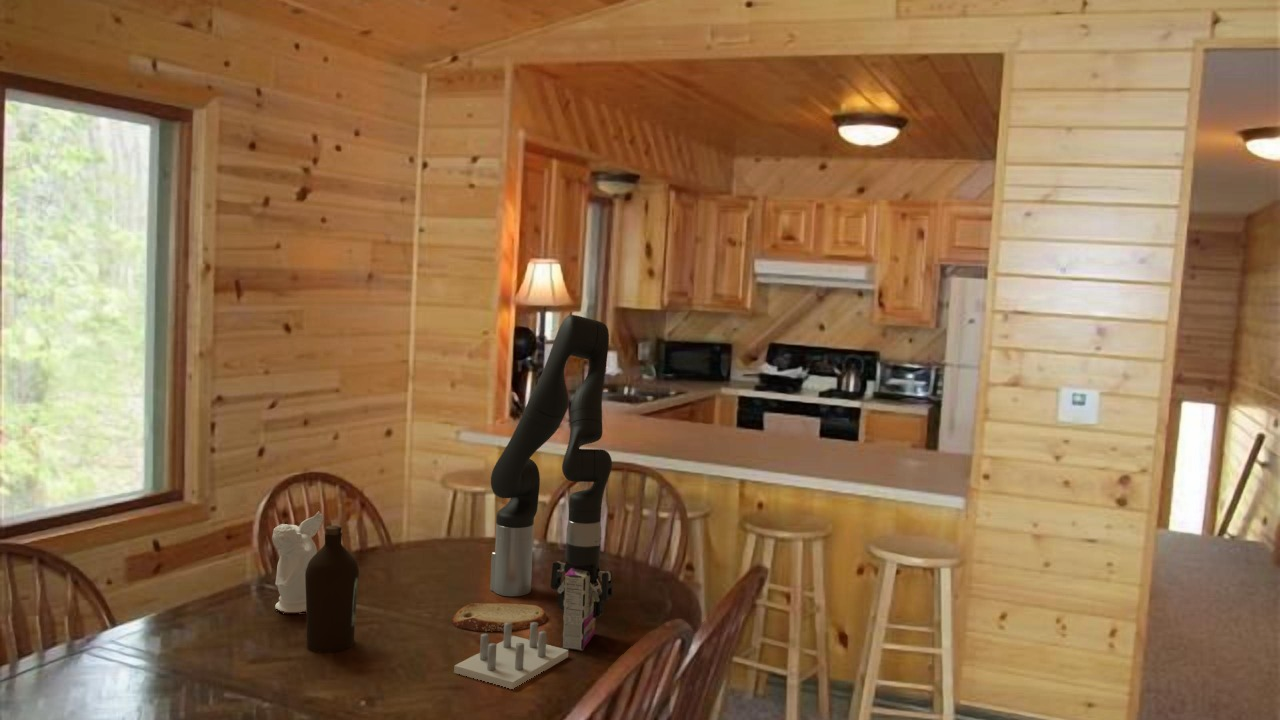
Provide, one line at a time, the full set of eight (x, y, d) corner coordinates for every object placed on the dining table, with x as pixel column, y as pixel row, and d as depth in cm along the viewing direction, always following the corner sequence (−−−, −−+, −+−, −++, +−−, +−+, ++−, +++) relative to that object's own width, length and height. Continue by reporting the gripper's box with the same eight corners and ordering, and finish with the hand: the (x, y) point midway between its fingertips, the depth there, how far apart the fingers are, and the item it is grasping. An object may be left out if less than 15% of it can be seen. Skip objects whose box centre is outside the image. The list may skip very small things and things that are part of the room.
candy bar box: (574, 631, 223) (577, 559, 222) (595, 633, 222) (599, 562, 221) (560, 648, 212) (563, 573, 211) (582, 651, 211) (586, 576, 210)
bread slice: (553, 618, 232) (554, 602, 231) (511, 642, 215) (512, 625, 215) (488, 604, 239) (489, 589, 239) (443, 626, 223) (444, 610, 223)
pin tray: (454, 672, 197) (455, 641, 196) (512, 642, 214) (514, 613, 214) (512, 689, 190) (513, 656, 190) (568, 657, 208) (569, 626, 207)
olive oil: (307, 656, 201) (310, 535, 199) (300, 638, 211) (303, 522, 208) (361, 650, 206) (364, 531, 204) (352, 632, 215) (355, 519, 213)
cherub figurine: (278, 619, 221) (278, 522, 219) (257, 603, 231) (257, 510, 228) (330, 608, 229) (331, 514, 227) (308, 593, 239) (309, 503, 236)
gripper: (546, 538, 215) (543, 611, 217) (603, 549, 209) (599, 625, 210) (564, 531, 222) (561, 602, 223) (620, 542, 215) (617, 615, 217)
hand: (580, 613), depth 217 cm, fingers open, 8 cm apart
